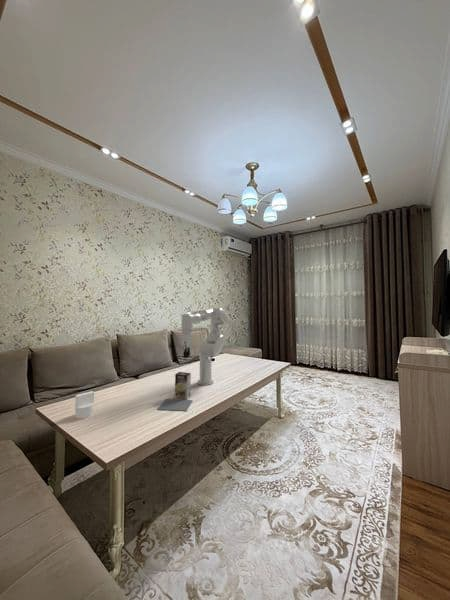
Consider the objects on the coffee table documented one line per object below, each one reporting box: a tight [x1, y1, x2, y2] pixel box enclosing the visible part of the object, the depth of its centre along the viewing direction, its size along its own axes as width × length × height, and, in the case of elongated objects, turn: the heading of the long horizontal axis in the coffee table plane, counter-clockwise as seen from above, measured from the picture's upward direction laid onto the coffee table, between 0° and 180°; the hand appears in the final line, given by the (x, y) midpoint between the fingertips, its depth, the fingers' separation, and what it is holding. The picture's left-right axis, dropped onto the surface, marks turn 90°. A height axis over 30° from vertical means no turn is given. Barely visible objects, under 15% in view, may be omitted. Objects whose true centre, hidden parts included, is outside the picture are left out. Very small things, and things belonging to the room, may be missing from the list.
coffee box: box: [174, 371, 192, 400], centre depth 167 cm, size 9×6×16 cm
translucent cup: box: [74, 390, 95, 419], centre depth 139 cm, size 9×9×12 cm
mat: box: [156, 398, 193, 412], centre depth 154 cm, size 16×18×1 cm
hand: (186, 356), depth 177 cm, fingers open, 4 cm apart
